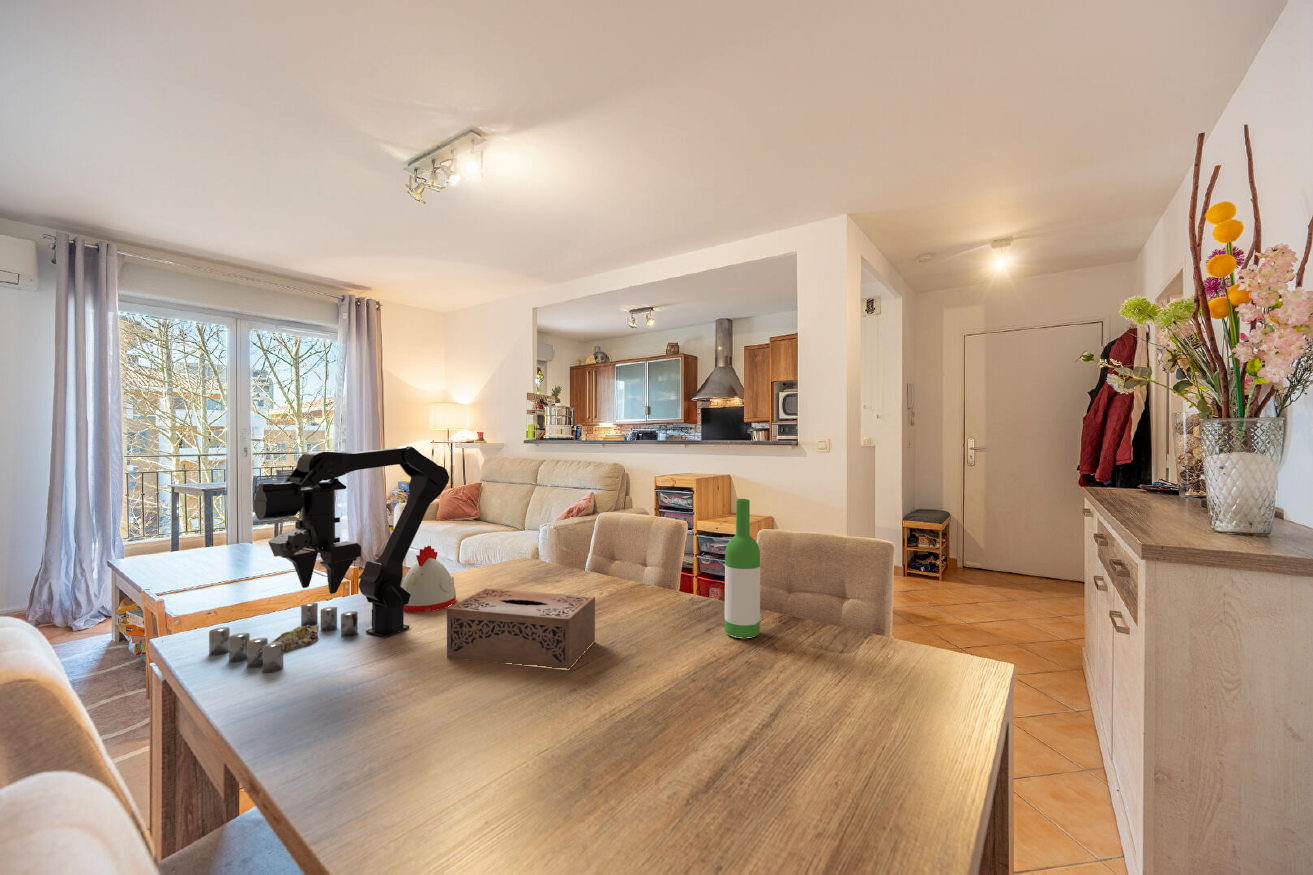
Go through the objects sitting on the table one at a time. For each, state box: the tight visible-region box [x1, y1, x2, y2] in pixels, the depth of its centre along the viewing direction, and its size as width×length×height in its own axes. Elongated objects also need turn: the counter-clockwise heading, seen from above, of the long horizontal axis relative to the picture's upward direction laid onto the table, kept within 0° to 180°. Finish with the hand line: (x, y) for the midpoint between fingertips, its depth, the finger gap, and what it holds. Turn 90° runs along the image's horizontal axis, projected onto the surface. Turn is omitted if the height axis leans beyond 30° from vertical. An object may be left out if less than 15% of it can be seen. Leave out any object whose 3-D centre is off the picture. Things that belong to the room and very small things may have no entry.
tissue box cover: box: [446, 588, 596, 669], centre depth 111 cm, size 26×14×10 cm, turn 77°
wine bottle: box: [724, 498, 761, 638], centre depth 120 cm, size 8×8×30 cm
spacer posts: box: [208, 602, 359, 674], centre depth 113 cm, size 21×21×4 cm
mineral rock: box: [271, 625, 319, 653], centre depth 114 cm, size 11×4×8 cm
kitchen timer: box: [400, 545, 457, 613], centre depth 141 cm, size 14×14×15 cm
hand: (319, 590), depth 110 cm, fingers open, 9 cm apart
